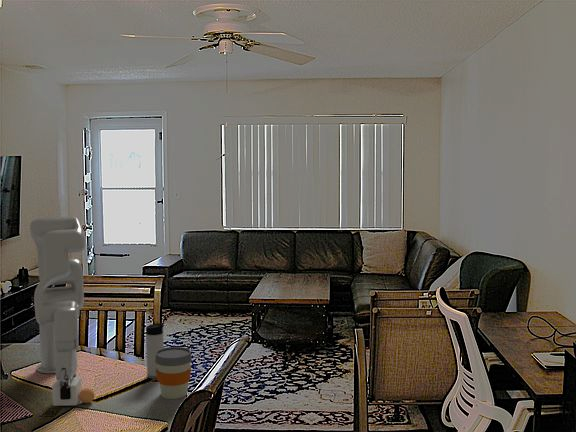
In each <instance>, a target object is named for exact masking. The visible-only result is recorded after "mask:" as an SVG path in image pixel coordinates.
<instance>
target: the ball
mask: <svg viewBox="0 0 576 432" xmlns="http://www.w3.org/2000/svg"><path fill="white" fill-rule="evenodd" d="M95 395H96V394H95V391H94V390H93V389H92V388H90V387H84V388H83V389H82V390H81V392H80V394H79V398H80V400H79V401H80V402H82V403H84V404H89V403H91V402H92V401H93V400H94V398H95Z"/></svg>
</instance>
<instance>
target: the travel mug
mask: <svg viewBox="0 0 576 432" xmlns="http://www.w3.org/2000/svg"><path fill="white" fill-rule="evenodd" d="M164 327H165V324H164V323H153V324H149V325H148V326H146V327H145V328H146V330H145V332H146V333H145V335H146V336H145V339H146V342H145V343H146V377H147V376H148V377H147V378H149V379H152V380H158V378H157V372H156V368H157V364H156V362H155V358H156V352H157V351H158V350H160V349H163V348H165V346H164Z"/></svg>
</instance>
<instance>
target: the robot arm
mask: <svg viewBox="0 0 576 432" xmlns="http://www.w3.org/2000/svg"><path fill="white" fill-rule="evenodd" d="M29 231H30V235H31V238H32V241H33V242H34V244H35V247H36V251H37V252H36V253H37V264H38V265H37V266H38V267H37V268H38V280H39V282H38V283H37V286H36V288H35V290H34V295H33V303H34V312H35V313H34V316H35V320H36V322H37V323H38V324H39V326H38V327H39V343H40V345H39V347H40V364H39V365H37V367H36V370H37V372H38V373H41V374H46V375H47V374H55V378H56V380H59V379H60V399H61V400H67V399H70V398H71V392H70V387H69V384H70V379H72V377H77V374H76V372H77V369H78V358H77V349H79V347H80V346H79V326H78V323H79V322H78V319H79V317H80V310H82V308H84V307H83V306H84V303H85V292H84V273H83V272H84V270H83V266H82V263H81V260H79V259H78V258H73V257H72V258H70V256H69V254H73V253H82V252H83V251H84V250H85V247H86V239H85V232H84V230H83V228H82V225H81V223H80V220H79V218H78V217H76V216H56V217H54V216H53V217H39V218H35V219H33V220H31V222H30V223H29ZM64 284H65V285H66V284H67V286H59V287H50V286H56V285H57V286H58V285H64ZM68 284H69V285H70V286H68ZM65 377H68V378H65ZM65 381H67V383H66V382H65Z"/></svg>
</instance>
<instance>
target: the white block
mask: <svg viewBox="0 0 576 432" xmlns="http://www.w3.org/2000/svg"><path fill="white" fill-rule="evenodd" d="M65 378H68V377H65ZM65 382H66V383H67V381H65ZM69 387H70V392H71V398H70V399H67V400H61V399H60V379H59V380H57V379H56V380H55V381H54V383H53V384H52V386H51V389H52V390H51V391H52V393H51V394H52V406H53V407H54V406H55V407H57V406H77V405H78V404H79V401H81V400H80V398H79V394H80V392H81V390H83V389H82V388H83V387H82V376H76V377H72V379H70V384H69Z"/></svg>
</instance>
